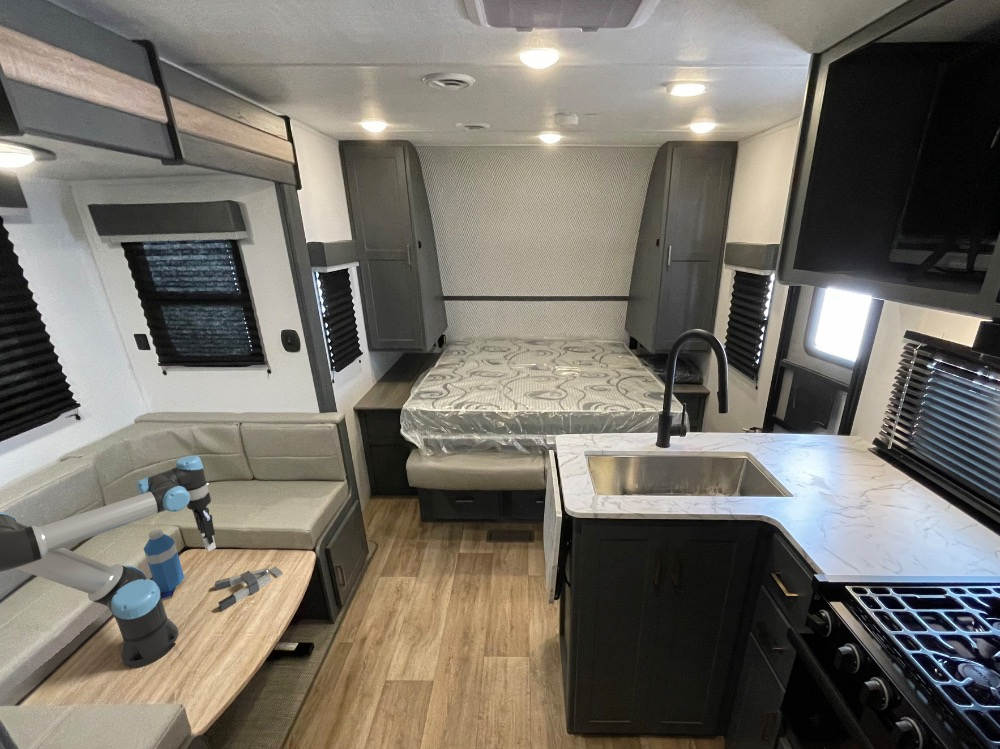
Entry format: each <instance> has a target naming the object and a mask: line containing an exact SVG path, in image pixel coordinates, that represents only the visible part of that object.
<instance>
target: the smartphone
mask: <svg viewBox="0 0 1000 749" xmlns="http://www.w3.org/2000/svg"><path fill="white" fill-rule="evenodd" d="M175 590H176V588H175V589H173V590H171V591H169V592H162V593H160V596H161V599H162V602H164V601H167V600H169V599H172V598H173V596H174V593H175Z"/></svg>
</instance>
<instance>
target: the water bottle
mask: <svg viewBox="0 0 1000 749" xmlns="http://www.w3.org/2000/svg"><path fill="white" fill-rule="evenodd" d="M163 532H164V531H163V529H162V528H156V529H154V530H151V531H150V532H149V533H148V538H149V539H148V541H147V542H146V544H145V546H144V547H143V551H144V554H145V558H146V561H147V564H148V568H149V571H150V575H151V577H152V581H154V582H155V583H156V584H157V586H158V587H159V590H160V593H162V592H169V591H171V590H173V589H175V590H176V588H177V586H179V585H180V584H181V583H182V581H183V580H184V578H185V575H184V572H183V568H182V564H181V560H180V556H179V554H178V549H177V546H176V543H175V539H174V538H172V537H171V536H170V535H168V534H165V533H163Z"/></svg>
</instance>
